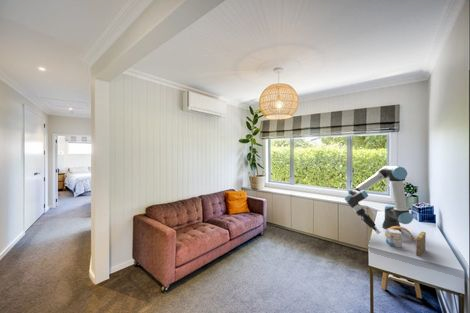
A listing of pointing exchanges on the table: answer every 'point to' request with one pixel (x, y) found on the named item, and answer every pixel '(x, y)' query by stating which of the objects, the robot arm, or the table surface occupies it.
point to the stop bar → (420, 243)
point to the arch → (400, 228)
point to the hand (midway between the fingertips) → (379, 233)
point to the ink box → (394, 238)
